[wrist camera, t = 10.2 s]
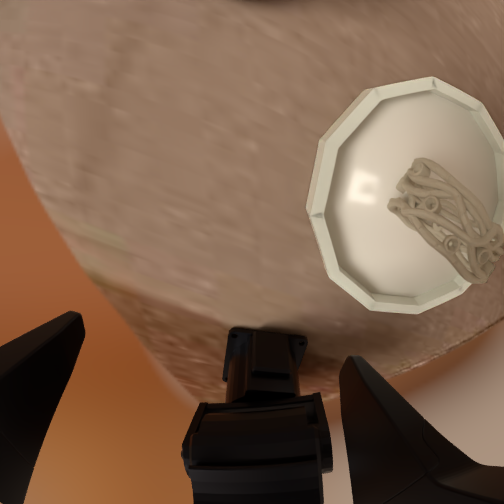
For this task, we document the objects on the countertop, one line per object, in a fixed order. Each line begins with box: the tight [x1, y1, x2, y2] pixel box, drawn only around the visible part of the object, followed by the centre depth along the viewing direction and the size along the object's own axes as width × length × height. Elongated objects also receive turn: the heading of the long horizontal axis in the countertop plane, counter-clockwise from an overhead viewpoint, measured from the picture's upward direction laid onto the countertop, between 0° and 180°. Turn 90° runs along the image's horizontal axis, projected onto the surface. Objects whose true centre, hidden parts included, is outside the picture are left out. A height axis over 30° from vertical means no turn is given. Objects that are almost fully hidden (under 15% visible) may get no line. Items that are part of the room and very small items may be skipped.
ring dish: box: [306, 77, 504, 314], centre depth 18 cm, size 17×17×2 cm
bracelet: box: [387, 158, 504, 284], centre depth 15 cm, size 4×8×8 cm, turn 62°
